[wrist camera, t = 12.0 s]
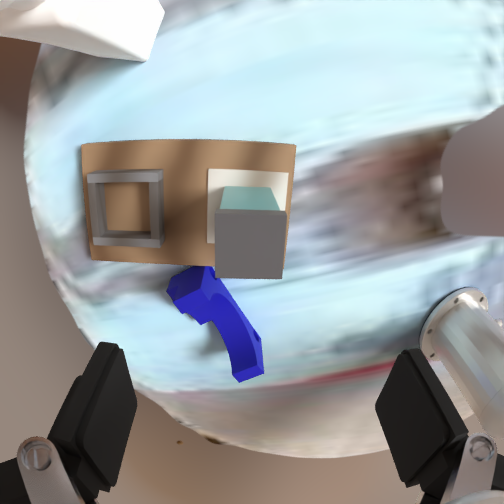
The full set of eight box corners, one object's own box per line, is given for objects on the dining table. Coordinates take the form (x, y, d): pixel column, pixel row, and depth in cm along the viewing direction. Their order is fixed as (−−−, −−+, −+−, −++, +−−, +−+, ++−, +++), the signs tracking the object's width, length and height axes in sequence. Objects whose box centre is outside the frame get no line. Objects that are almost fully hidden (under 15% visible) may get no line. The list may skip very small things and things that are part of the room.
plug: (272, 185, 27) (287, 215, 19) (270, 231, 29) (281, 279, 21) (222, 183, 27) (214, 213, 19) (222, 230, 29) (215, 278, 20)
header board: (293, 144, 27) (300, 147, 24) (281, 262, 32) (286, 278, 29) (88, 143, 26) (71, 147, 23) (97, 254, 31) (83, 268, 28)
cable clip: (171, 276, 33) (159, 308, 27) (207, 258, 32) (200, 288, 26) (228, 351, 37) (227, 386, 32) (260, 337, 36) (264, 373, 31)
